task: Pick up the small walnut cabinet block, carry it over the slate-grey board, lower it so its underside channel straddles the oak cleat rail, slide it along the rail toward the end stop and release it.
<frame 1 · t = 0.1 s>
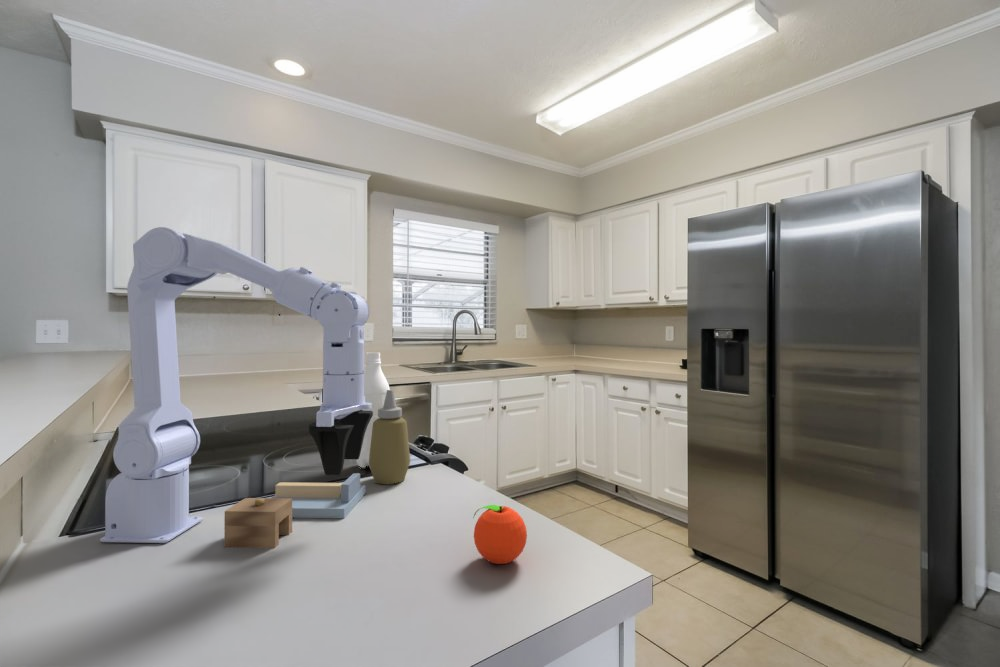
hand: (343, 466, 67), 10 cm above the counter, tool pointing down, fingers open, 7 cm apart
squeeze bottle: (389, 481, 91), on the counter
cabinet block: (259, 539, 65), on the counter
water bottle: (372, 467, 100), on the counter
cleat board: (314, 504, 78), on the counter
clementine: (496, 561, 60), on the counter
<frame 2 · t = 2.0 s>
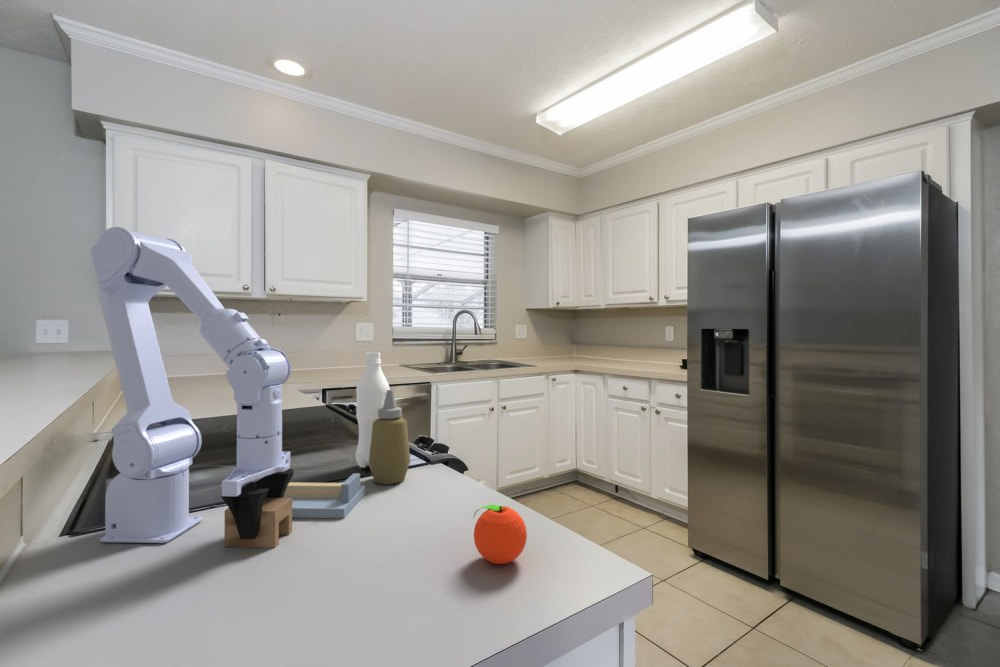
hand: (259, 529, 65), 1 cm above the counter, tool pointing down, fingers closed on cabinet block, 5 cm apart
cabinet block: (259, 539, 65), on the counter, touching gripper
everything else where it was.
when the fingers open (3 cm above the counter, at t = 6.5 s): cabinet block stays where it is, resting on cleat board.
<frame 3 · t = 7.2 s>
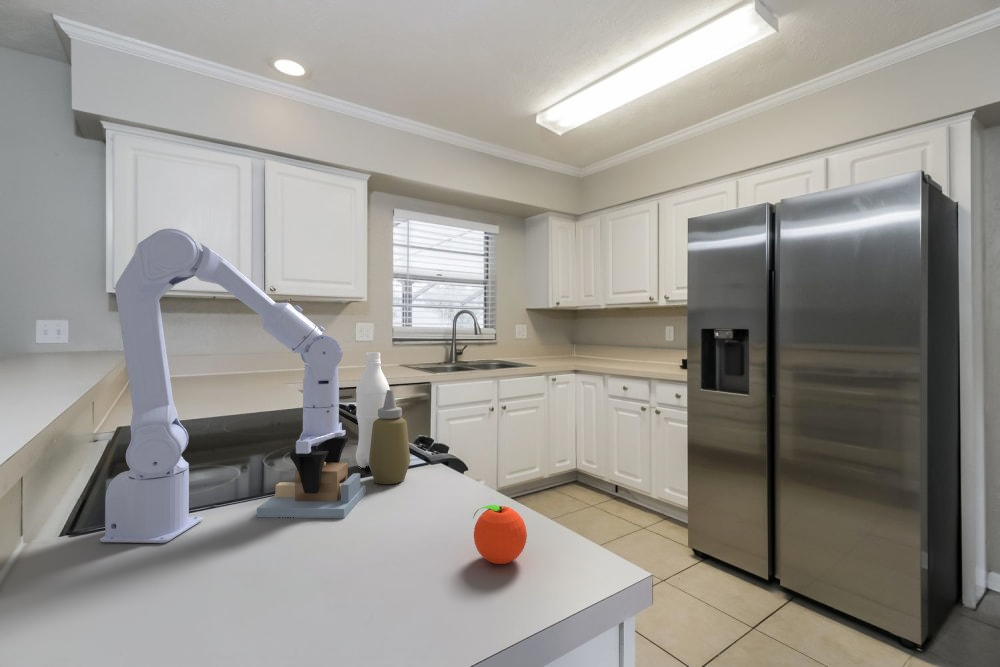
hand: (320, 484, 78), 3 cm above the counter, tool pointing down, fingers open, 7 cm apart
cabinet block: (322, 495, 78), point 1 cm above the counter, touching cleat board
everything else where it was.
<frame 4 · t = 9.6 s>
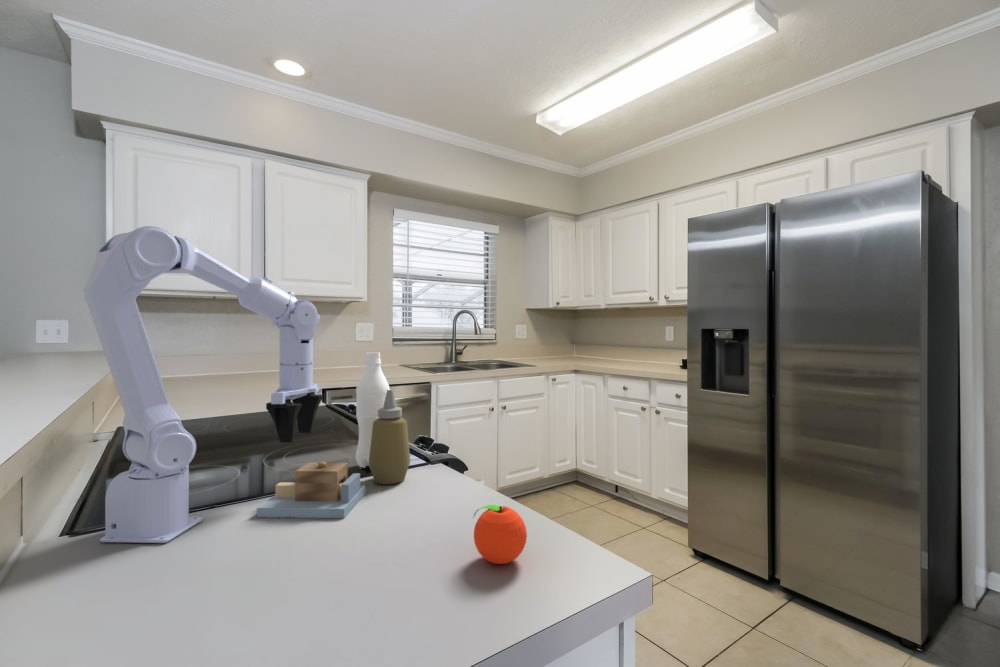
hand: (296, 437, 85), 10 cm above the counter, tool pointing down, fingers open, 7 cm apart
nothing on the counter moved.
at the end: cabinet block inside the target area on the cleat board (0.9 cm from its centre), point 1.5 cm above the cleat board's base; cabinet block tilted 0°; the gripper is holding nothing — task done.
